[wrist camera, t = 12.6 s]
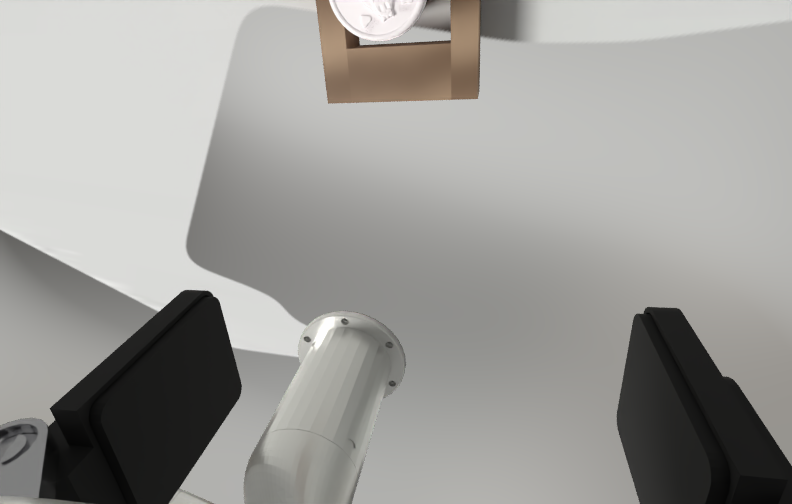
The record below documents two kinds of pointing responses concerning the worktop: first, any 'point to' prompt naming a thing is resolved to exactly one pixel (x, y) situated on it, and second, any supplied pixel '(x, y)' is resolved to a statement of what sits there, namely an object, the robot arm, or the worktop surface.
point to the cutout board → (402, 61)
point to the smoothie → (378, 17)
